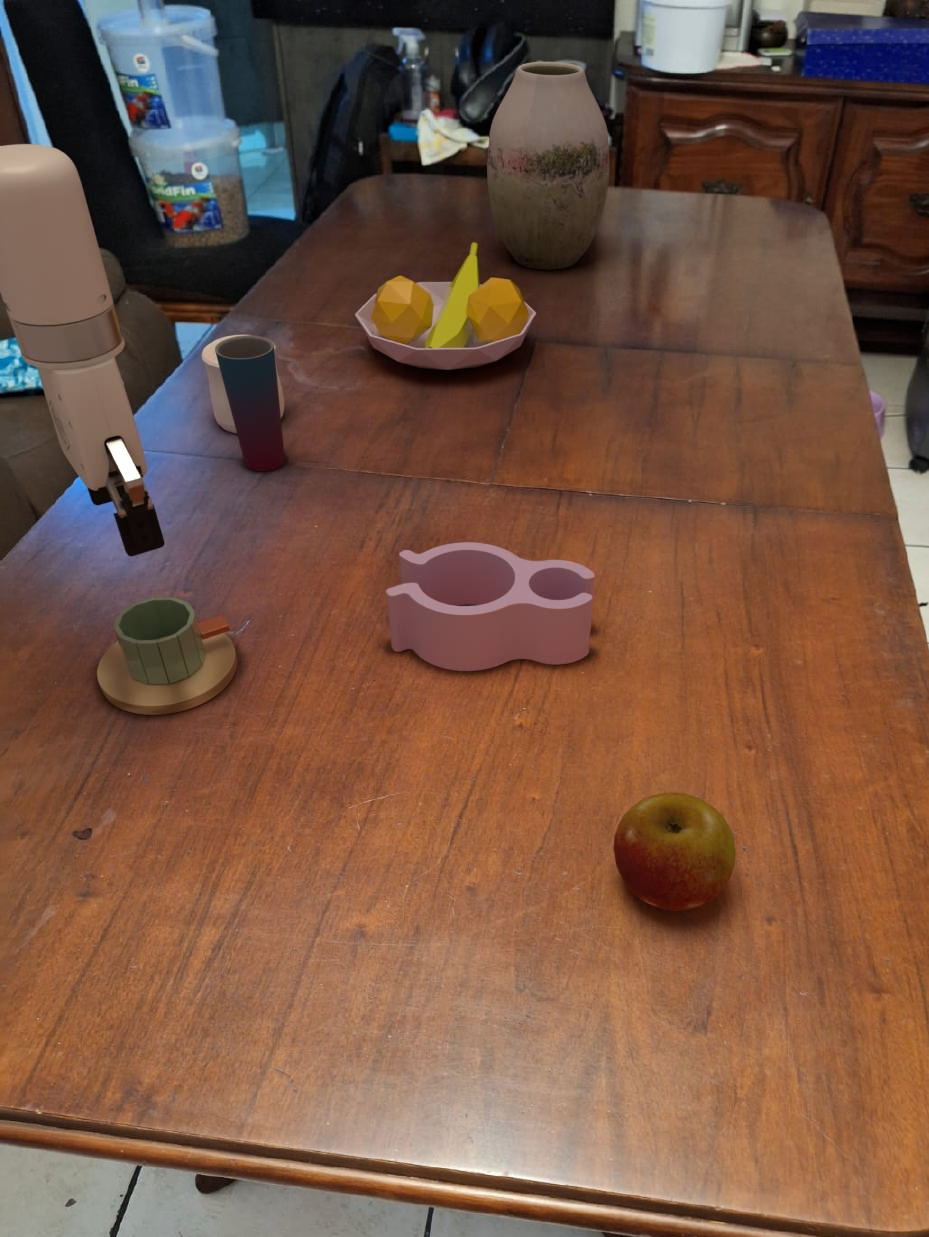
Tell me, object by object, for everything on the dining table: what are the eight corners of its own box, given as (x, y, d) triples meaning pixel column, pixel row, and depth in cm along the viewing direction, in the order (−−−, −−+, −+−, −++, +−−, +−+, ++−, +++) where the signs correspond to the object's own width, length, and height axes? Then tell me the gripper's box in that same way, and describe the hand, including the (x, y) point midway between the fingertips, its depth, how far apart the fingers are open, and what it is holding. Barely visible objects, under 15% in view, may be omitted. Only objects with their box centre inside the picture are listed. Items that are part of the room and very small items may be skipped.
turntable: (123, 733, 94) (120, 723, 93) (83, 657, 101) (80, 647, 101) (258, 684, 99) (255, 674, 98) (209, 615, 107) (207, 606, 106)
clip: (593, 605, 110) (596, 551, 105) (586, 680, 101) (589, 624, 96) (409, 592, 111) (404, 537, 106) (385, 665, 102) (379, 608, 97)
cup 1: (281, 398, 144) (271, 330, 137) (291, 431, 137) (280, 360, 130) (212, 406, 142) (197, 337, 135) (218, 440, 135) (203, 368, 128)
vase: (620, 250, 192) (634, 63, 171) (577, 287, 178) (585, 88, 157) (518, 232, 198) (519, 50, 178) (468, 267, 184) (462, 73, 163)
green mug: (141, 694, 96) (128, 652, 92) (118, 653, 100) (104, 612, 97) (243, 658, 100) (233, 617, 97) (216, 620, 104) (206, 579, 101)
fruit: (589, 893, 81) (594, 827, 76) (641, 821, 87) (650, 755, 82) (698, 948, 78) (712, 882, 72) (745, 869, 84) (761, 803, 78)
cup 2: (267, 480, 127) (246, 363, 117) (226, 465, 130) (202, 350, 120) (303, 457, 132) (285, 343, 122) (262, 443, 134) (242, 330, 124)
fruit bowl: (472, 405, 144) (470, 325, 136) (324, 359, 154) (314, 282, 146) (573, 339, 161) (576, 264, 154) (434, 301, 171) (430, 230, 164)
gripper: (-10, 305, 82) (57, 494, 93) (48, 384, 71) (115, 586, 83) (85, 286, 85) (139, 471, 96) (154, 360, 74) (204, 557, 86)
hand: (128, 524), depth 90 cm, fingers open, 9 cm apart
